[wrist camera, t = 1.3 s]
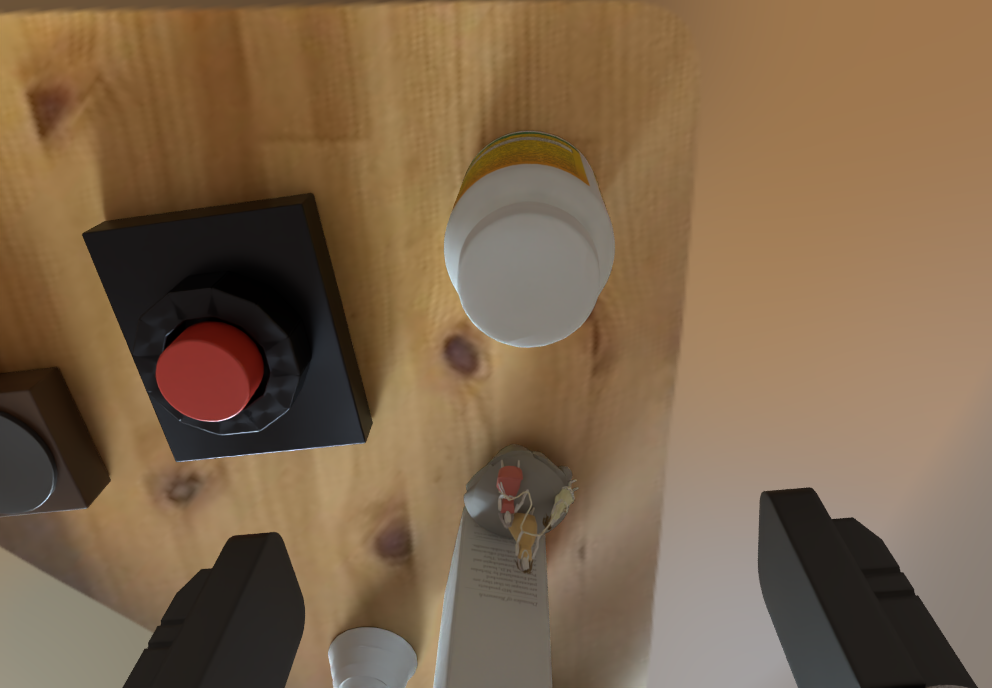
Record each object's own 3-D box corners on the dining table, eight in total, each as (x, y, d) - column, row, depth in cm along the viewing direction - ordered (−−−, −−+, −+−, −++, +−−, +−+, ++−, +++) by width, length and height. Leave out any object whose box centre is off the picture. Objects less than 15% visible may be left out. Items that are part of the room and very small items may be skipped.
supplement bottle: (622, 210, 28) (664, 306, 20) (514, 284, 30) (509, 403, 21) (545, 96, 27) (553, 148, 18) (433, 181, 28) (393, 265, 20)
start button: (162, 325, 28) (140, 345, 26) (249, 315, 28) (232, 334, 26) (192, 403, 30) (173, 426, 28) (275, 394, 29) (261, 417, 28)
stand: (-72, 381, 33) (-114, 409, 31) (58, 366, 33) (24, 393, 30) (-9, 492, 36) (-44, 525, 34) (112, 480, 35) (84, 513, 33)
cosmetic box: (523, 602, 38) (522, 843, 27) (444, 589, 38) (412, 826, 27) (548, 515, 35) (558, 743, 25) (463, 500, 35) (437, 724, 24)
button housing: (103, 221, 29) (53, 248, 26) (313, 192, 29) (287, 217, 25) (191, 442, 34) (157, 487, 31) (373, 423, 33) (357, 468, 30)
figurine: (477, 514, 36) (468, 607, 30) (457, 440, 34) (444, 527, 28) (582, 499, 35) (592, 592, 30) (568, 424, 33) (576, 509, 28)
